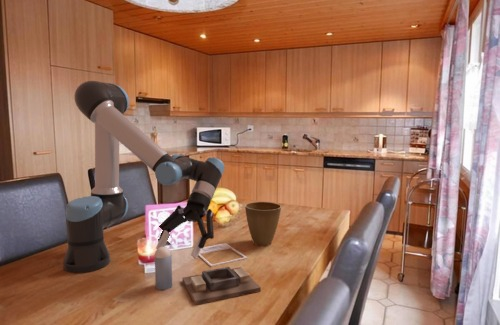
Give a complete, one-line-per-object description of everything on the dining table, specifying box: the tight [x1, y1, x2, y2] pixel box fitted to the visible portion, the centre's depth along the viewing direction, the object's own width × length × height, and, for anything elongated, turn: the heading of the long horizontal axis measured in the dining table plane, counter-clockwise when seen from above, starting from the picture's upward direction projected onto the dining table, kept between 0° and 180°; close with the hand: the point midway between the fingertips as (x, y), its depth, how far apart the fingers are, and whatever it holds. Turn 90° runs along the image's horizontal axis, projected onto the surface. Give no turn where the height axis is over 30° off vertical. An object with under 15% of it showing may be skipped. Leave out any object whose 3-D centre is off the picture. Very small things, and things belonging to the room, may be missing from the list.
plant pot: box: [244, 201, 282, 247], centre depth 148 cm, size 15×15×16 cm
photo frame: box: [198, 242, 248, 268], centre depth 136 cm, size 15×1×18 cm
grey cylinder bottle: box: [154, 246, 173, 291], centre depth 110 cm, size 5×5×12 cm
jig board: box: [181, 266, 262, 306], centre depth 110 cm, size 20×16×4 cm
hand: (175, 253), depth 113 cm, fingers open, 13 cm apart
